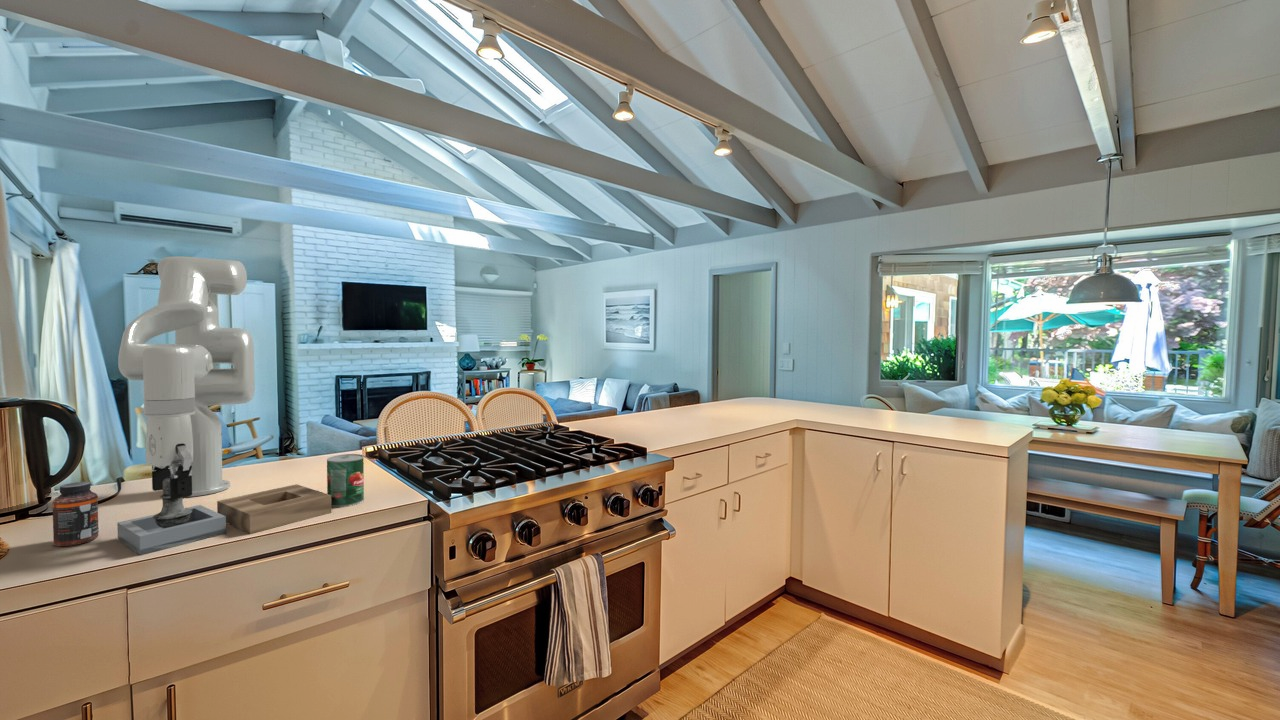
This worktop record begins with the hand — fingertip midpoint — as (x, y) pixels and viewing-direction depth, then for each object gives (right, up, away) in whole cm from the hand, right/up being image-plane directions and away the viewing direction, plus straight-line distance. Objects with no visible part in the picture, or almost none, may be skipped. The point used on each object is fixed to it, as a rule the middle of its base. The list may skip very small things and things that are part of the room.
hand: (172, 493), depth 103 cm
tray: (0, -9, 0) cm, 9 cm away
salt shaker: (0, -8, +1) cm, 8 cm away
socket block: (+11, -9, +13) cm, 19 cm away
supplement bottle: (-16, -9, -3) cm, 19 cm away
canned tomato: (+21, -8, +24) cm, 33 cm away
